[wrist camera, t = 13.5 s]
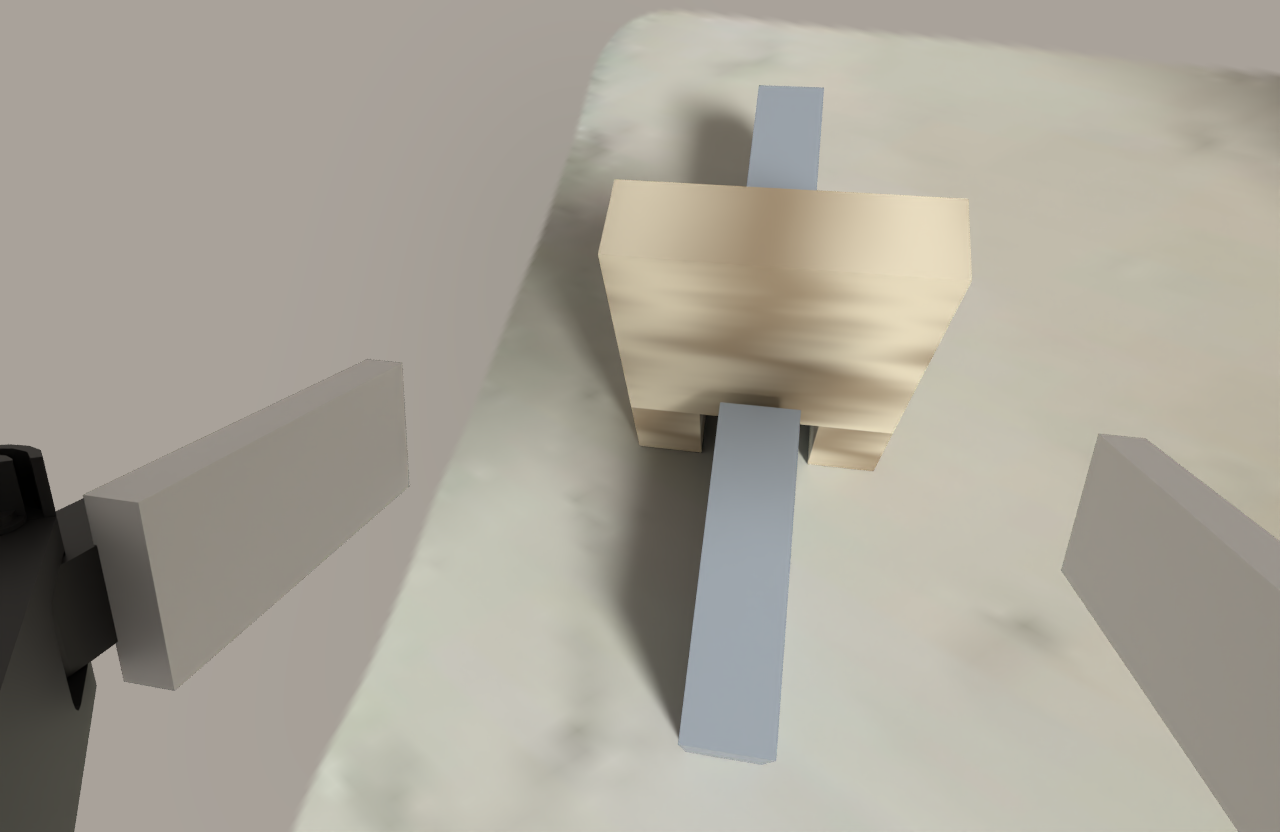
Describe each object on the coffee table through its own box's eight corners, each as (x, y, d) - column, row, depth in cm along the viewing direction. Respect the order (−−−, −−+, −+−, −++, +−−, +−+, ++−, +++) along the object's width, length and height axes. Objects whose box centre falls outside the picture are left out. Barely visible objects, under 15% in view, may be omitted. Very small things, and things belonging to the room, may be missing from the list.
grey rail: (806, 195, 34) (823, 87, 29) (762, 764, 24) (776, 760, 19) (751, 193, 35) (759, 85, 29) (685, 751, 25) (678, 744, 19)
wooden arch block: (874, 412, 29) (968, 199, 19) (873, 471, 28) (972, 280, 17) (649, 390, 31) (614, 179, 20) (639, 445, 30) (598, 254, 19)
